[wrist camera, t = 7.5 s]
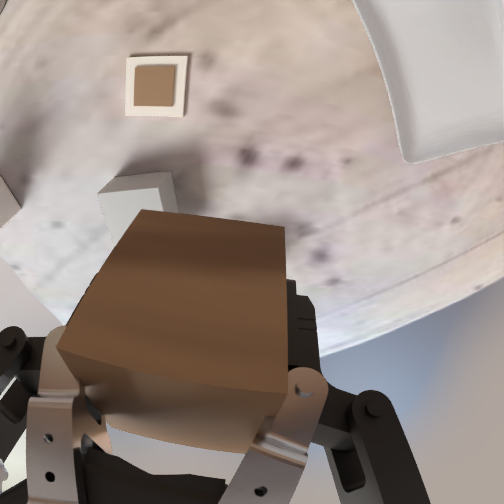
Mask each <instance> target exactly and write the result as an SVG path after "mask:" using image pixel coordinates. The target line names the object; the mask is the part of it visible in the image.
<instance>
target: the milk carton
mask: <svg viewBox="0 0 504 504" xmlns="http://www.w3.org/2000/svg"><path fill="white" fill-rule="evenodd" d="M20 210H21V207H20V206H19V204H18V202H17V201H16V199H15V198H14V196H13V195H12V193H11V192H10V190H9V188H8V187H7V185H6V184H5V182H4V180H3V179H2V177H1V176H0V230H1V229H2V228H3V227H4V226H5V225H6V224H7V223H8V222H9V221H10V220H11V219H12V218H13V217H14V216H15V215H16V214H17V213H18V212H19V211H20Z"/></svg>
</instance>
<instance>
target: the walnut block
mask: <svg viewBox="0 0 504 504" xmlns="http://www.w3.org/2000/svg"><path fill="white" fill-rule="evenodd" d="M56 349H57V351H58V352H59V354H60V356H61V357H62V359H63V361H64V362H65V364H66V365H67V367H68V369H69V370H70V372H71V373H72V375H73V376H74V377H77V378H80V379H81V381H82V382H83V384H84V386H85V394H86V395H87V396H88V398H89V399H90V401H91V402H92V403H93V405H94V406H95V407H96V408H99V409H101V410H102V411H103V413H104V414H105V420H106V421H107V423H108V424H109V425H110V426H111V427H112V428H116V429H119V430H122V431H125V432H129V433H133V434H137V435H140V436H145V437H148V438H153V439H157V440H161V441H166V442H170V443H175V444H180V445H186V446H191V447H197V448H203V449H210V450H217V451H225V452H233V453H243V454H246V453H247V451H248V449H249V447H250V445H251V443H252V441H253V439H254V437H255V436H256V434H257V432H258V430H259V428H260V426H261V424H262V422H263V420H264V418H265V416H271V417H276V416H277V414H278V412H279V410H280V408H281V406H282V404H283V402H284V400H285V398H286V396H287V394H288V332H287V287H286V256H285V231H284V227H281V226H274V225H267V224H259V223H252V222H244V221H237V220H229V219H221V218H214V217H206V216H197V215H189V214H181V213H172V212H164V211H155V210H146V209H141V210H140V211H139V213H138V214H137V216H136V217H135V218H134V220H133V221H132V223H131V224H130V225H129V227H128V228H127V230H126V231H125V233H124V234H123V236H122V237H121V238H120V240H119V241H118V243H117V244H116V246H115V247H114V249H113V250H112V252H111V253H110V255H109V256H108V258H107V260H106V261H105V263H104V264H103V266H102V267H101V269H100V271H99V272H98V274H97V275H96V277H95V279H94V280H93V282H92V283H91V285H90V287H89V288H88V290H87V292H86V293H85V295H84V297H83V298H82V300H81V302H80V304H79V305H78V307H77V309H76V311H75V312H74V314H73V316H72V318H71V319H70V321H69V323H68V325H67V327H66V329H65V330H64V332H63V334H62V336H61V338H60V340H59V342H58V344H57V346H56Z"/></svg>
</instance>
